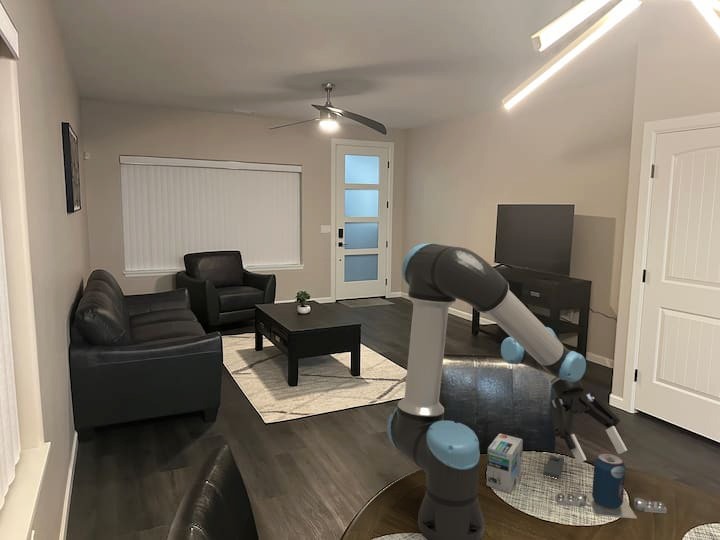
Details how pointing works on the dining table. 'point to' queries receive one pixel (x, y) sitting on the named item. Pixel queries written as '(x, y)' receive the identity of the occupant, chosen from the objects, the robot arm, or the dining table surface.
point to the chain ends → (622, 511)
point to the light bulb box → (504, 462)
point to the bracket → (554, 466)
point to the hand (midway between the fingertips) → (603, 457)
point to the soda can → (608, 480)
